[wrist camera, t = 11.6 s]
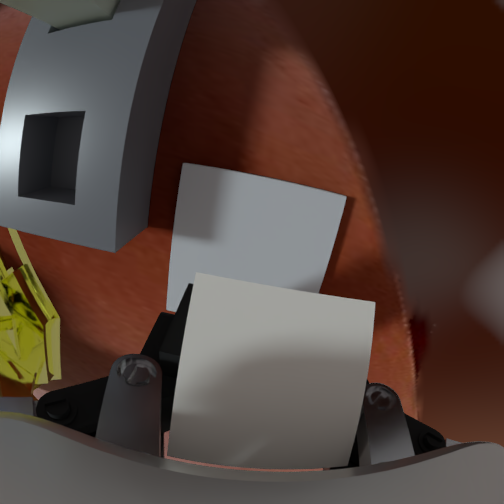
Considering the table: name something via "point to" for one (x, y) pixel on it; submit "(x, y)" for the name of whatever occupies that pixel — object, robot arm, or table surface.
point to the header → (88, 123)
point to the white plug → (270, 376)
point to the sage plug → (66, 11)
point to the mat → (250, 230)
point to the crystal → (26, 329)
